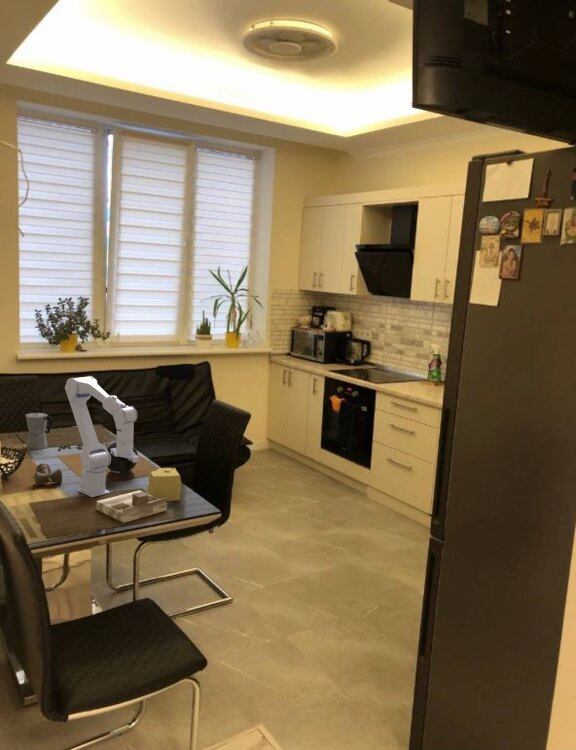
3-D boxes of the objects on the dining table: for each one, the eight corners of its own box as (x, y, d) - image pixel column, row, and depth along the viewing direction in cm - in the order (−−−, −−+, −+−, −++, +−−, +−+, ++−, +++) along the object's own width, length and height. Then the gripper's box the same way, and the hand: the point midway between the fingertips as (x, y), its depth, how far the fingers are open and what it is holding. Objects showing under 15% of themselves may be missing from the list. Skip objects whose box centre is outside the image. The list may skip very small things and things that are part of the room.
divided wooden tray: (96, 509, 218) (96, 497, 218) (139, 498, 232) (139, 486, 231) (123, 522, 208) (123, 509, 207) (166, 510, 222) (167, 498, 221)
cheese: (147, 493, 238) (148, 468, 236) (175, 491, 241) (176, 466, 240) (151, 503, 228) (152, 476, 226) (180, 501, 232) (181, 475, 230)
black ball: (96, 478, 251) (97, 441, 249) (118, 470, 263) (119, 435, 261) (123, 484, 246) (123, 447, 244) (144, 475, 258) (145, 440, 256)
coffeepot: (18, 447, 288) (18, 408, 285) (32, 442, 296) (32, 405, 294) (45, 452, 283) (45, 413, 280) (59, 447, 291) (59, 409, 289)
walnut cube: (132, 504, 216) (132, 493, 216) (142, 502, 219) (142, 491, 219) (138, 508, 214) (138, 497, 213) (148, 505, 216) (148, 494, 216)
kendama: (55, 474, 255) (64, 488, 237) (30, 477, 250) (37, 492, 233) (55, 460, 254) (64, 473, 237) (29, 463, 249) (37, 476, 232)
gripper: (103, 438, 225) (102, 474, 227) (127, 446, 216) (126, 484, 218) (120, 435, 230) (119, 470, 232) (144, 443, 221) (143, 480, 223)
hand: (124, 477), depth 225 cm, fingers closed
